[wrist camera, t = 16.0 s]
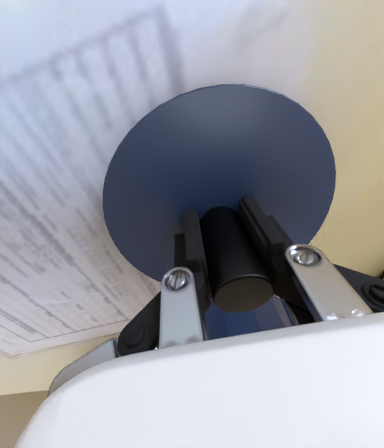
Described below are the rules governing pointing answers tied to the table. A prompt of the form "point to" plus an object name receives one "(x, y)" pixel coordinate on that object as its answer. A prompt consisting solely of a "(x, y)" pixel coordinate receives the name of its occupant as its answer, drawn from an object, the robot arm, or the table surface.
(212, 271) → the lid
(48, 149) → the table surface
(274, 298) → the pot
